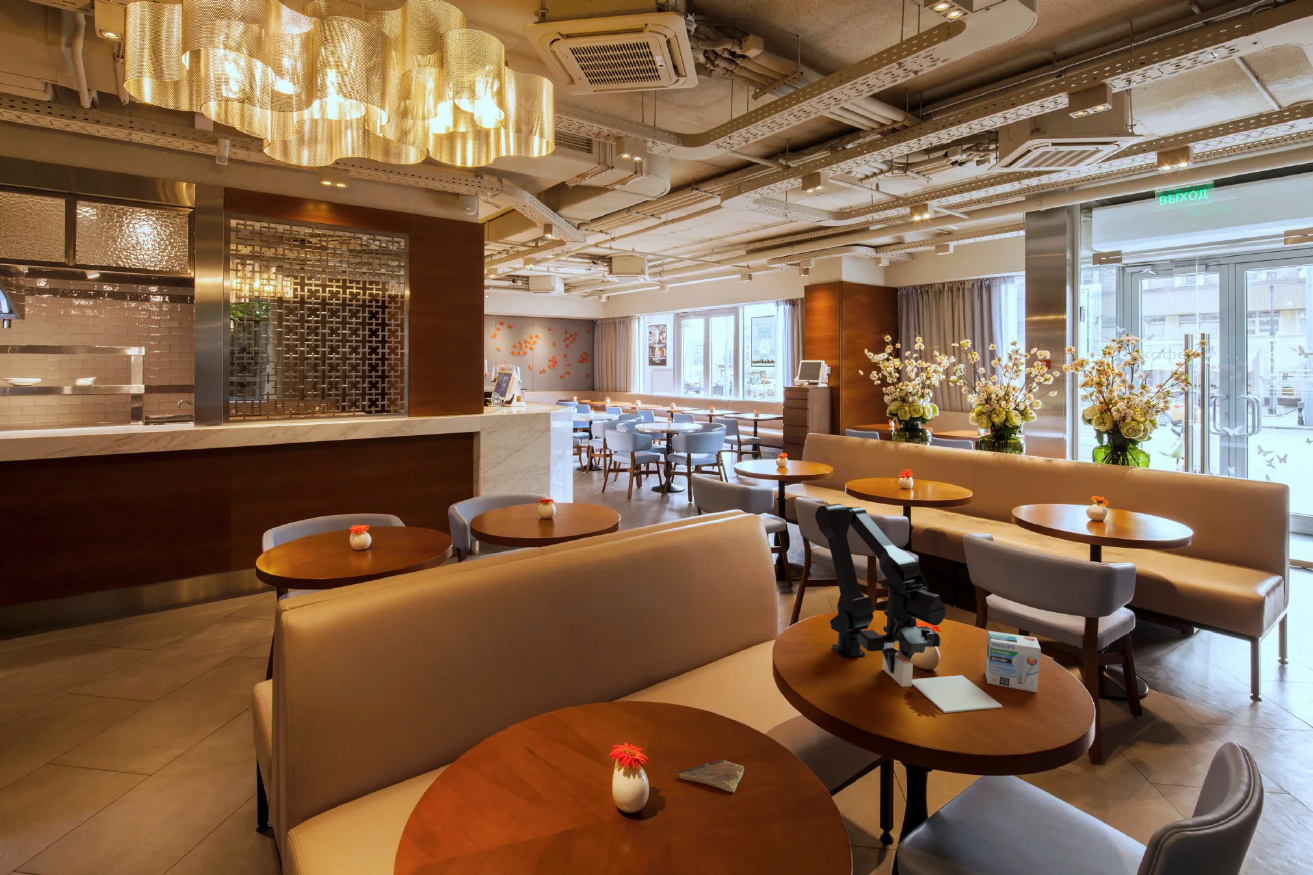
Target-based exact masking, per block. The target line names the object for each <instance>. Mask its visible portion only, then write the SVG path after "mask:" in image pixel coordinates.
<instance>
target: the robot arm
mask: <svg viewBox="0 0 1313 875" xmlns="http://www.w3.org/2000/svg"><path fill="white" fill-rule="evenodd" d="M814 514H815V516H814V517H815V521H816V524H817V526H818V530H819V531H820V532H821V534H822V535H824V537H825V538H826V539H827V542H828V546H829V551H830V555H831V559H832V563H833V568H834V571H835V575H836V576H835V577H836V579H837V584H838V587H839V588H838V589H839V598H838V601H837V605H836V607H837V614H836V615H835V616H834V617H833V618H831V619H830V620H829V623H830V629H831V630H833V631H835V632H837V644H831V646H832V648H833V649H834V650H835V651H836V652H837V653H838V655H840V656H841V657H842V658H851V657H852V658H853V657H863V656H866V652H865V651H864V650H863V649H861V647H863V648H864V649H865V650H866V651H867V652H881V653H882V656H883V655H884V657H885V660H886V663H887V665H888V668H889V671H890V672H891V673H894V664H895V654H896V653H897V650H898V651H900V652H901V653H902V654H903V655H904V656H906V657H907V658H908V659H909V660H911V659H912V657H913V656H914V654H916V653H917V654H919V653H920V654H923V653H925V650H926V648H934V647H936V648H937V647H941V640H942V639H941V637H940V635H939V633H937V632H936V631H935V630H933V629H932V628H930V627H929V626H926V625H925V626H917V619H918V620H920V621H922V622H925V623H927V624H929V625H931V626H934V627H936V626H939V625H940V624H941V623H942V622H943V621H944V619H945V617H946V612H947V608H946V607H945V604H944V602H943V601H941V596H940V595H939V594H938V593H932V592H929V591H927V590H929V589H930V588H929V587H930V586H928V583H927V580H926V579H925V576H924V575H923V573H922V571H921V567H920V564H919V563H918V561H917V560H916V559H915V558H914V557H913V556H912V555H910V554H909V553H908V552H906V551H904V550H902V549H901V548H898V547H897V546H896V545H895V544H894V543H892V541H891V540H890V539H889V537H888V536H887V535H886V534H885V533H884V532H883V531H882V530H881V529H880V527H879V526H878V525H877V523H875V522H874V521H873V520H872V519H871V516H869V514H868V513H867V510H866V508H864V507H860V506H857V507H854V506H844V505H843V503H834V504H832V503H831V504H828V505H827V504H826V505H825V504H824V505H820V506H819V507H817V510H816V512H815V513H814ZM850 526H851V527H852V528H853V530H854V531H855V532H856V534H858V536H859V537H860V538H861V539H862V540H863V542H864V543H865V544H866V546H867V547H868V548H869V549H870V551H871V552H872V553H873V554H874V555H875V556H876V558H877V559H878V564H879V568H880V570H881V571H880V572H882V574H883V575H884V577H885V579H886V580H885V581H884V582H883V583H881V584H880V586H881V587H882V588H883V589H886V590H888V592H887V593H888V594H887V608H886V609H885V610H884V611H883V612H884V613H883V614H884V616H886V625H884V626H883V632H885V634H879V633H878V632H877V631H875V630H874V629H869V627H870V624H871V623H872V621H873V620H874V613H875V609H874V608H873V604H872V599H871V597H870V596H869V595H868V596H865V595H864V593H863V592H862V591H861V589H860V587H859V586H860V585H859V581H858V577H857V573H856V569H855V565H854V564H855V563H854V560H853V556H852V553H851V549H850V548H851V547H850V544H849V540H848V536H847V535H848V533H849V532H848V531H849V529H850ZM911 582H914V583H911ZM907 583H911V584H907ZM906 584H907V585H906ZM868 629H869V630H868ZM895 643H896V644H897V643H898V649H897V648H896V647H895ZM894 647H895V648H896V649H897V650H896V649H895V648H894Z"/></svg>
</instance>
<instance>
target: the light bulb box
mask: <svg viewBox="0 0 1313 875" xmlns="http://www.w3.org/2000/svg"><path fill="white" fill-rule="evenodd" d="M1041 650H1042V649H1041V646H1040V644H1039V641H1038V639H1037V637H1034V636H1028V635H1027V636H1026V635H1019V634H1012V633H1007V632H998V631H991V630H988V632H987V643H986V653H985V665H984V666H985V668H984V672H985V678H986V682H987V684H988V685H995V686H999V687H1005V688H1010V689H1017V690H1022V691H1027V692H1033V693H1037V692H1038V684H1039V683H1038V682H1039V674H1040V673H1039V672H1040V661H1041V652H1042V651H1041Z"/></svg>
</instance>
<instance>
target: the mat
mask: <svg viewBox="0 0 1313 875" xmlns="http://www.w3.org/2000/svg"><path fill="white" fill-rule="evenodd" d="M912 686H914V687H915V688H916V690H918V691H919V692H920V693H921V694H922V695H924V696H925V697H926V698H927V699H928V700H929V701H930V702H931V703H933V704H934V705H935V706H936V707H937V708H938V709H939V710H941V711H942V712H943V713H944V714H948V713H949V714H950V713H956V712H957V713H959V712H968V711H969V712H971V711H980V710H990V709H991V710H992V709H1001V708H1003V705H1002V704H1001V703H1000V702H998V701H996V699H994V698H993V697H991V696H990V695H989V694H987V693H986V692H985V691H984V690H982V689H981V688H979V686H977V685H976V684H974V683H973V682H971V681H970V680H969V679H967V678H966V677H965V676H964V675H963V674H960V675H949V676H935V677H925V678H912Z"/></svg>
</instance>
